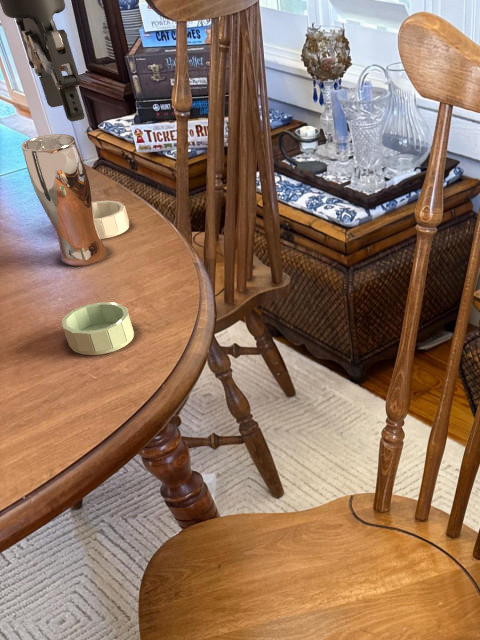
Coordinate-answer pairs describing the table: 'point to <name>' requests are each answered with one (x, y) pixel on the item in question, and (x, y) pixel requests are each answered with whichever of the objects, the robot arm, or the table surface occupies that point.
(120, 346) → the pale green hollow cylinder
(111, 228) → the faceted cream ring
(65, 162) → the beer glass
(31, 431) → the table surface
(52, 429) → the table surface
